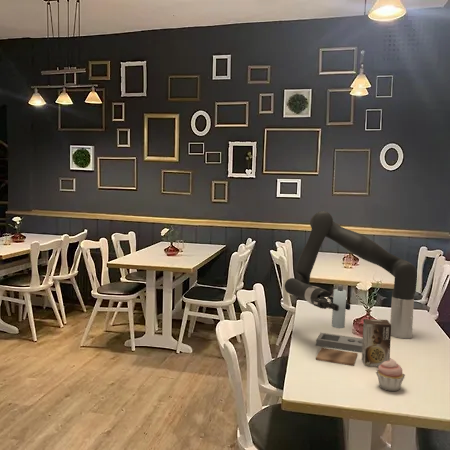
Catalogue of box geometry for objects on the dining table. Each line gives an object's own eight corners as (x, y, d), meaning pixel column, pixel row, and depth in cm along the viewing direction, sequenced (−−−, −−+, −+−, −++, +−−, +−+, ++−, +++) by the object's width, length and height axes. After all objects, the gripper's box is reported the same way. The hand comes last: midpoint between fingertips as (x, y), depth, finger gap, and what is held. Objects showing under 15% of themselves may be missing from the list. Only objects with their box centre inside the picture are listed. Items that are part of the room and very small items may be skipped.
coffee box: (385, 361, 181) (387, 319, 179) (389, 367, 174) (392, 324, 173) (360, 359, 182) (363, 318, 180) (364, 366, 175) (366, 323, 174)
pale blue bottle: (345, 325, 183) (347, 284, 182) (343, 329, 179) (346, 287, 177) (332, 323, 185) (335, 283, 184) (330, 327, 181) (333, 285, 179)
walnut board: (357, 355, 186) (357, 353, 186) (353, 365, 175) (353, 363, 175) (321, 349, 191) (321, 347, 191) (315, 359, 180) (315, 357, 180)
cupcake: (380, 379, 164) (382, 350, 163) (408, 387, 158) (410, 357, 157) (370, 387, 157) (371, 358, 156) (398, 396, 151) (400, 366, 150)
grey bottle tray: (371, 345, 198) (371, 338, 197) (368, 353, 188) (369, 345, 188) (320, 338, 205) (320, 331, 205) (315, 345, 196) (316, 338, 196)
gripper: (303, 288, 191) (328, 299, 175) (332, 286, 197) (359, 296, 181) (302, 307, 192) (327, 319, 176) (331, 304, 197) (358, 315, 182)
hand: (343, 307), depth 179 cm, fingers closed on pale blue bottle, 4 cm apart
